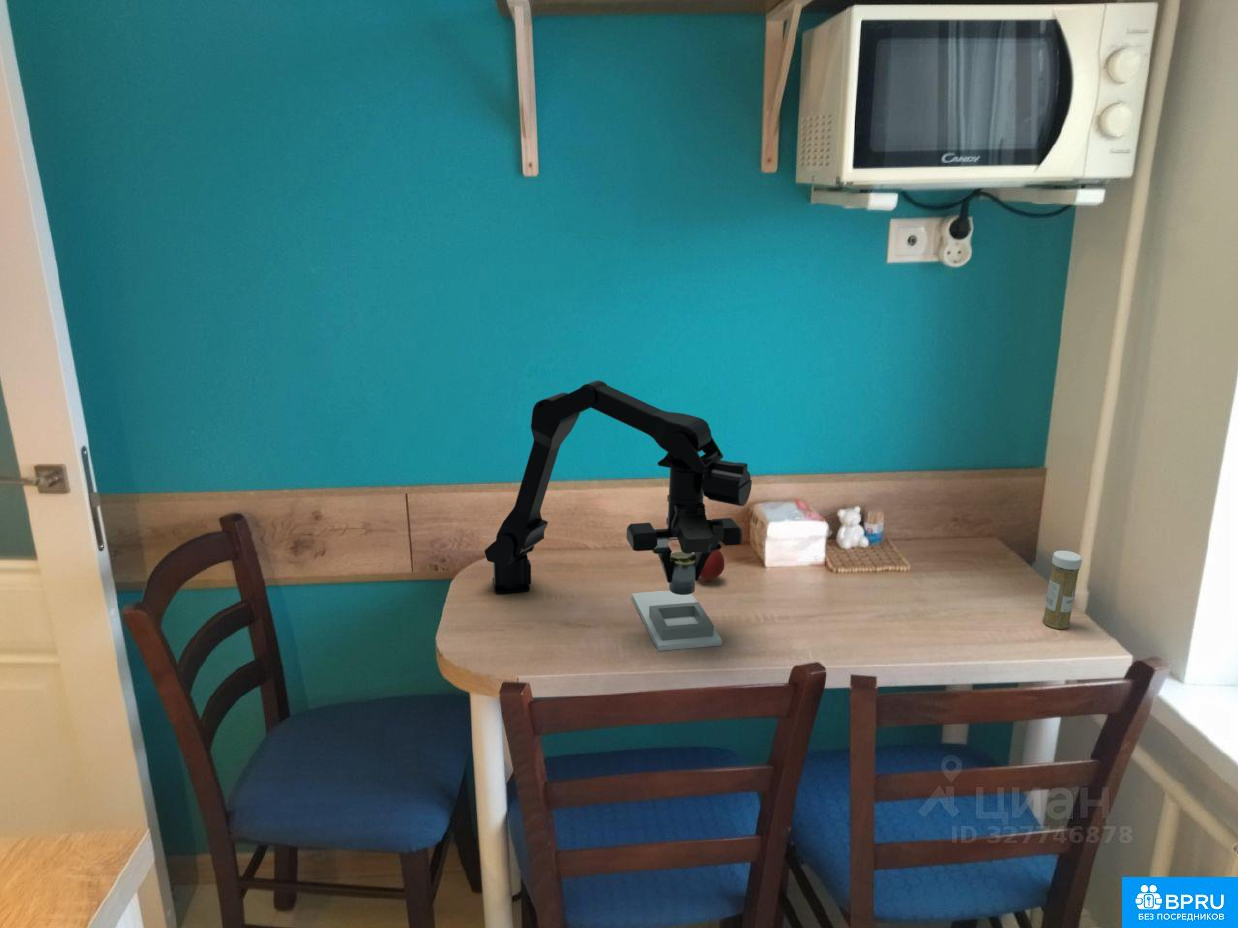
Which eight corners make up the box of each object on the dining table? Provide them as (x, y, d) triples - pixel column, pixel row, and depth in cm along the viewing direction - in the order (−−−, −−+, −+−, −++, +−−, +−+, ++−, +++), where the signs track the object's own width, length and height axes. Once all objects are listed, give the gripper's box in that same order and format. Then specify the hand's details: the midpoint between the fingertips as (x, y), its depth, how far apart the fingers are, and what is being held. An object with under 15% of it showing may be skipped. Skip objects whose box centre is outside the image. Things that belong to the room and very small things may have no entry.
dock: (658, 650, 153) (658, 634, 152) (631, 598, 172) (631, 583, 171) (721, 645, 155) (722, 629, 154) (688, 593, 174) (689, 579, 173)
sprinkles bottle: (1071, 631, 162) (1084, 561, 158) (1043, 627, 163) (1055, 557, 159) (1067, 620, 166) (1080, 551, 162) (1040, 616, 168) (1052, 548, 164)
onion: (706, 572, 183) (708, 534, 181) (729, 581, 180) (731, 543, 177) (687, 580, 180) (689, 542, 177) (710, 589, 176) (712, 551, 173)
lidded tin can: (672, 595, 155) (674, 562, 153) (666, 584, 159) (667, 552, 157) (698, 593, 156) (699, 561, 154) (690, 582, 160) (692, 550, 158)
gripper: (642, 514, 143) (639, 606, 147) (756, 508, 146) (750, 597, 151) (626, 490, 153) (624, 577, 158) (734, 485, 157) (728, 569, 162)
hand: (682, 580), depth 157 cm, fingers closed on lidded tin can, 4 cm apart
